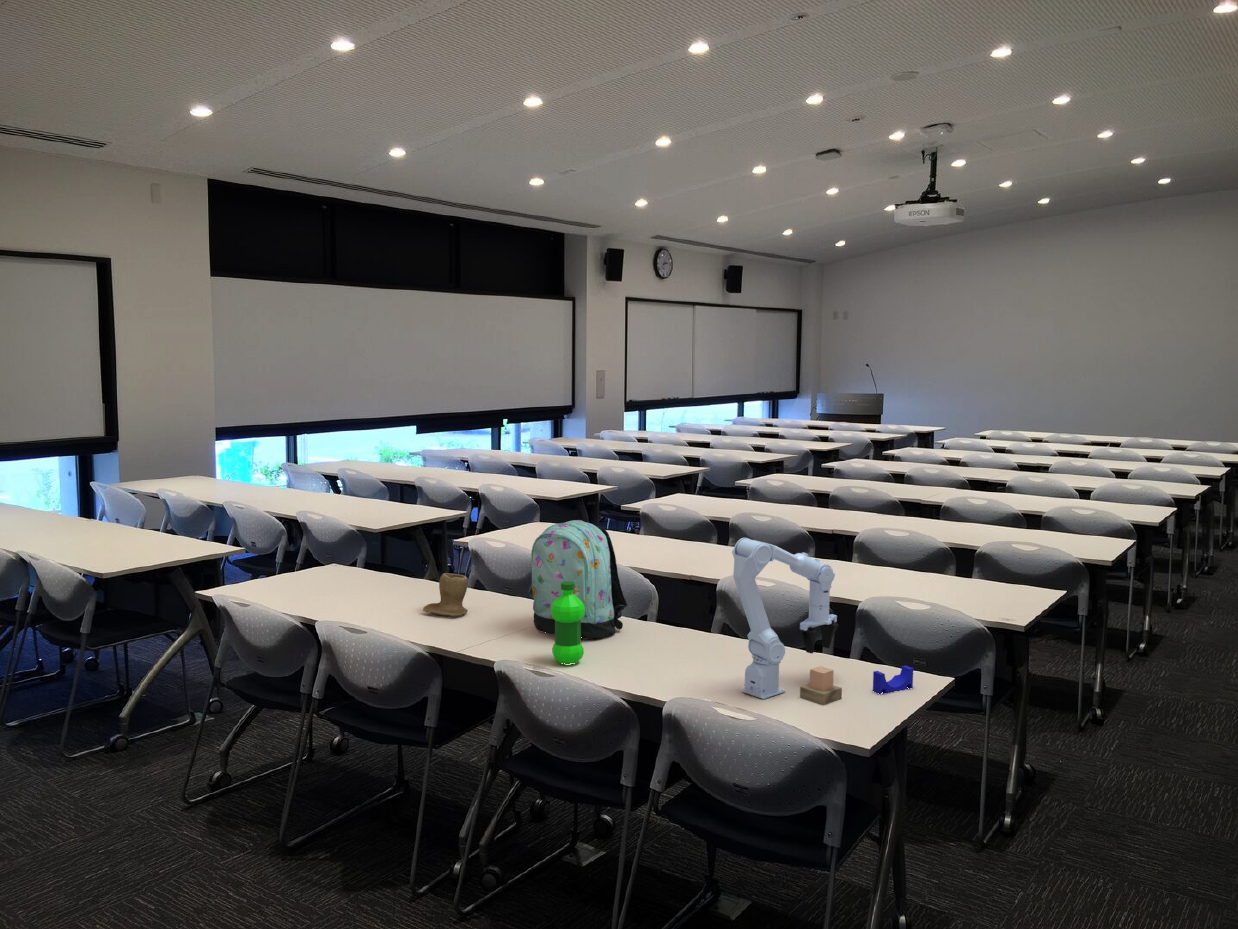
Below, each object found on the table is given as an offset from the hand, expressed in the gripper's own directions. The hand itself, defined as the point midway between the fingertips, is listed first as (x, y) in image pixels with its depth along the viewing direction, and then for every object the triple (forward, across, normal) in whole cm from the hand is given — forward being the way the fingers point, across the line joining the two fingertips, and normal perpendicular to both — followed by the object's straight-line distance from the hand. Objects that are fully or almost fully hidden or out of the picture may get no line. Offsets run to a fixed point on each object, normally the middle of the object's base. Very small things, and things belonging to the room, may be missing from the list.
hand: (817, 650), depth 274 cm
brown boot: (+10, -44, +133) cm, 140 cm away
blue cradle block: (+10, +11, -17) cm, 23 cm away
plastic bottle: (+10, -45, +60) cm, 76 cm away
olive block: (+9, -10, -9) cm, 16 cm away
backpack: (+10, -24, +84) cm, 88 cm away
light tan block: (+6, -10, -9) cm, 15 cm away
